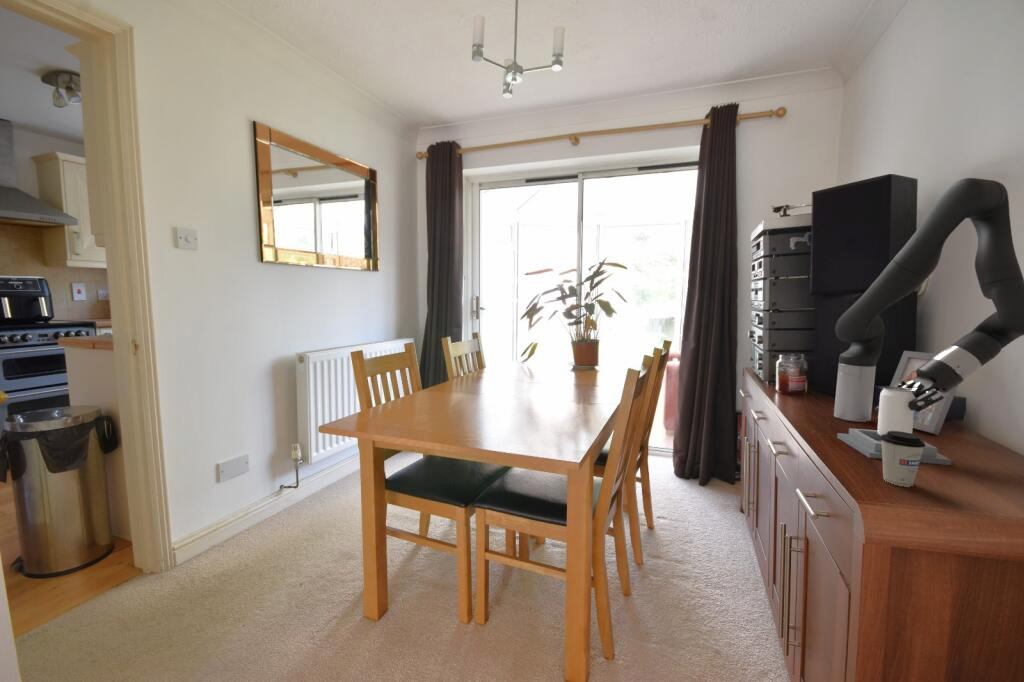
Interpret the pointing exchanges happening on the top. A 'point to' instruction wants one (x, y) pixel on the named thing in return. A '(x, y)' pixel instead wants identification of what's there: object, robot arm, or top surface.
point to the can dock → (872, 446)
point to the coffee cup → (901, 457)
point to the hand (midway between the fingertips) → (884, 414)
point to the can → (895, 410)
